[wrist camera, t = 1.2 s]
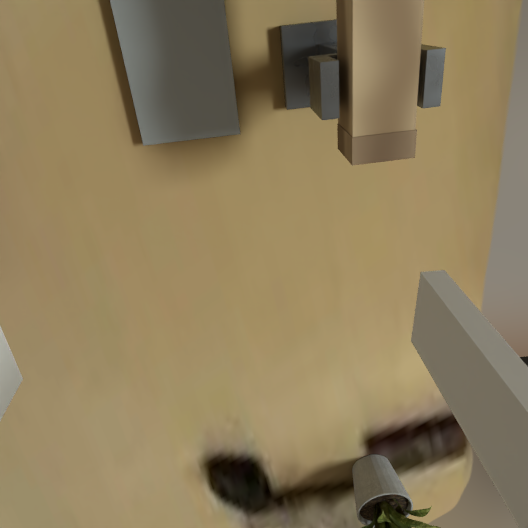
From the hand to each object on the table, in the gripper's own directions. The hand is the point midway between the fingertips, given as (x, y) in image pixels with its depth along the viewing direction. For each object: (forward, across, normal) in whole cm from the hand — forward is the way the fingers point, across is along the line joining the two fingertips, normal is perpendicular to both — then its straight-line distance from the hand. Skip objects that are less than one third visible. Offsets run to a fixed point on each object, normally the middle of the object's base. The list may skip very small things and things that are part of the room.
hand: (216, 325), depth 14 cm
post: (+27, +10, +5) cm, 29 cm away
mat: (+27, -3, +10) cm, 29 cm away
